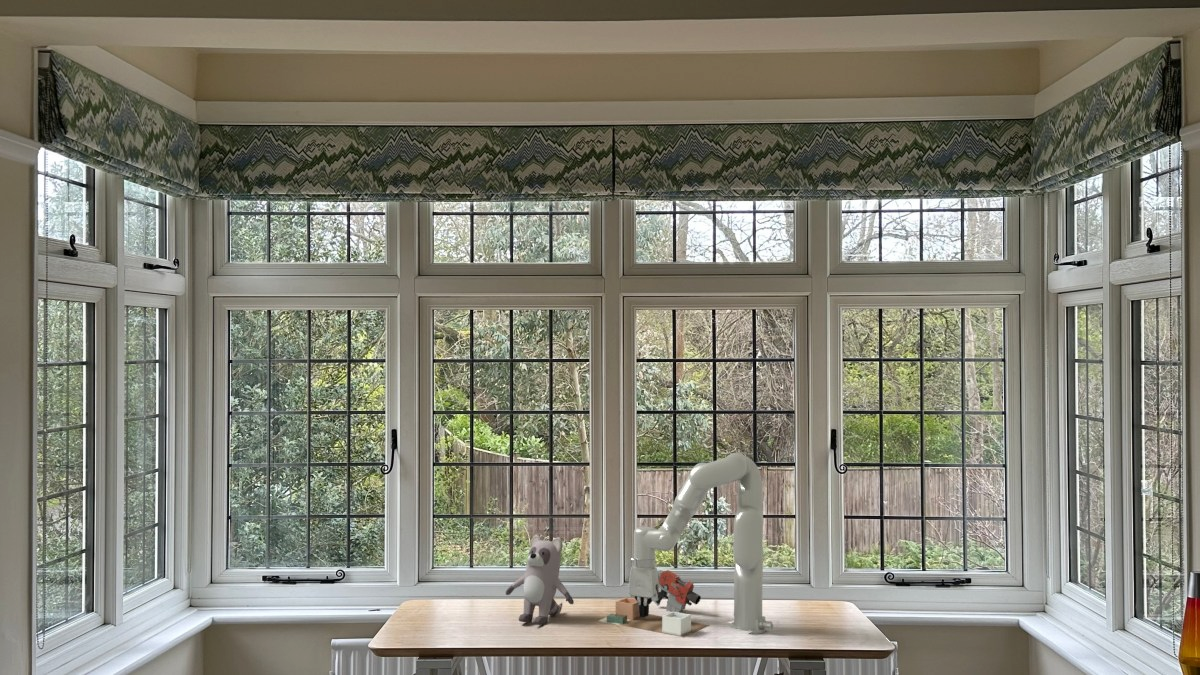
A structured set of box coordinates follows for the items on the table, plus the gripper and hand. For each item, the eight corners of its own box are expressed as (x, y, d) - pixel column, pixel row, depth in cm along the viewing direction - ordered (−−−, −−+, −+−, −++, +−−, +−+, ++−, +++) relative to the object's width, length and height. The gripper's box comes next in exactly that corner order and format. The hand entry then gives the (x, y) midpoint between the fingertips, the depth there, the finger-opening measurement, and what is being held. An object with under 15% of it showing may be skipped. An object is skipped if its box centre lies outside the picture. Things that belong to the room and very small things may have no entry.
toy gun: (686, 627, 336) (698, 589, 334) (642, 600, 348) (653, 563, 346) (692, 625, 339) (704, 587, 337) (648, 598, 351) (659, 561, 349)
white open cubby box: (691, 631, 316) (691, 614, 316) (680, 636, 310) (680, 619, 310) (672, 627, 320) (672, 611, 320) (662, 632, 314) (662, 615, 314)
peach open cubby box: (643, 615, 335) (643, 600, 335) (632, 620, 329) (632, 604, 329) (626, 613, 339) (626, 597, 339) (615, 617, 333) (615, 601, 333)
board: (709, 628, 324) (709, 625, 324) (683, 641, 309) (683, 637, 309) (625, 613, 343) (625, 609, 343) (597, 624, 328) (597, 620, 328)
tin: (627, 621, 328) (627, 615, 328) (622, 623, 324) (622, 618, 324) (611, 619, 330) (611, 613, 330) (606, 621, 326) (606, 616, 327)
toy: (514, 632, 317) (514, 545, 317) (504, 615, 338) (504, 534, 338) (574, 627, 323) (574, 542, 323) (560, 611, 343) (560, 530, 343)
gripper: (620, 562, 332) (620, 615, 331) (657, 567, 324) (657, 621, 323) (631, 558, 338) (631, 610, 338) (668, 563, 330) (668, 617, 329)
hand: (644, 616), depth 330 cm, fingers closed
